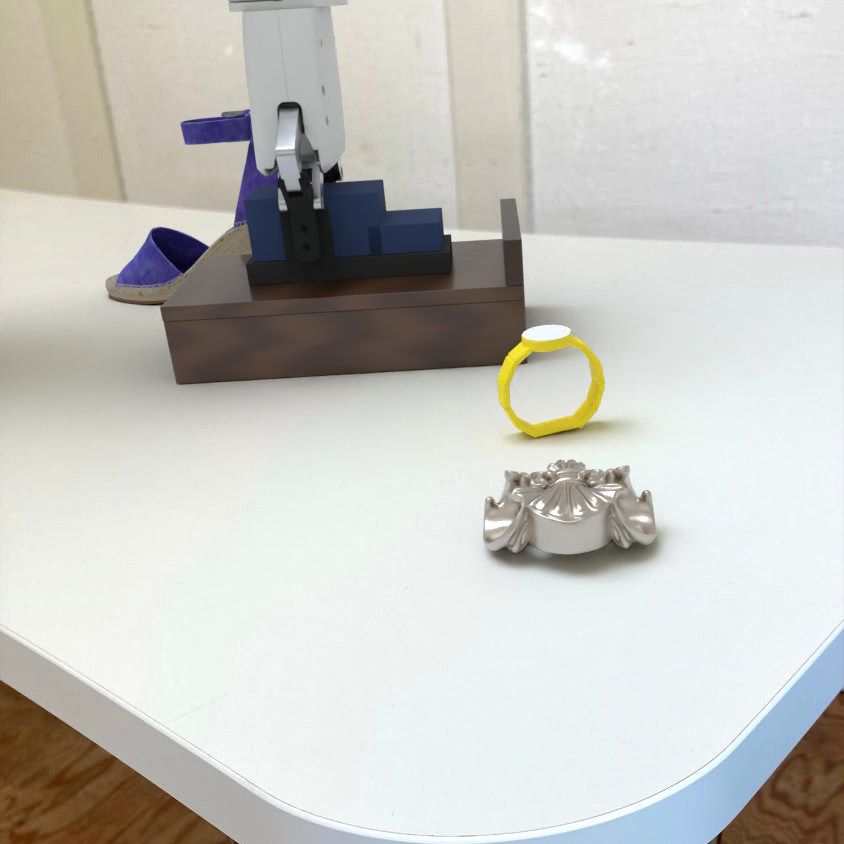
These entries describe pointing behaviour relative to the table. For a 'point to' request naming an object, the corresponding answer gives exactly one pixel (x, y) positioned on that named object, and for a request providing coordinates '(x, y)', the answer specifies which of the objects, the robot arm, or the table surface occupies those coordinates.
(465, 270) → the wooden riser with lip
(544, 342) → the watch
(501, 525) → the ornament
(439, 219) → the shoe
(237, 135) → the sandal
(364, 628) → the table surface
